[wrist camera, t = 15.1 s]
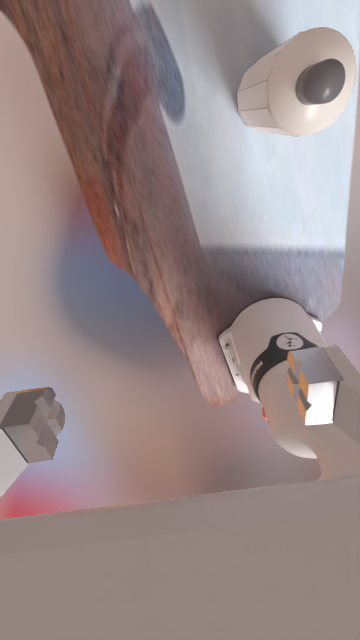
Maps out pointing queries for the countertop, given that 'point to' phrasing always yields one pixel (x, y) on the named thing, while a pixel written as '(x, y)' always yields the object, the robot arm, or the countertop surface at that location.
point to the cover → (299, 84)
